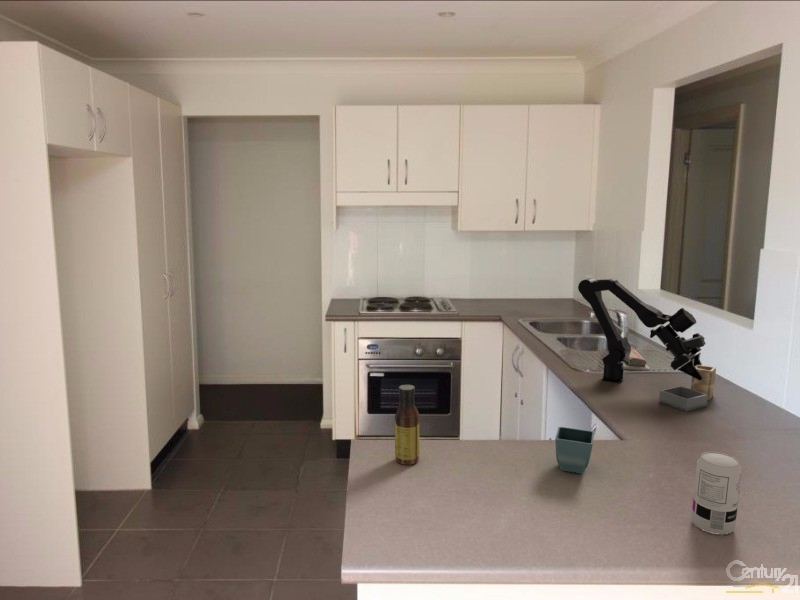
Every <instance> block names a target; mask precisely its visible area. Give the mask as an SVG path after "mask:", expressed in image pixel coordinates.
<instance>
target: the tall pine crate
mask: <svg viewBox="0 0 800 600" xmlns="http://www.w3.org/2000/svg"><path fill="white" fill-rule="evenodd" d="M695 367H696V369H697V370H698V372H699V374H700V375H701V377H702V379H701V380H698V379H696V378H694V377H692V376H691V382H690V383H691V384H690V389H692V390H695V391H698V392H701V393H704V394H707V395H708V400H707V401H710V400H711V399H712V398H713V397H714V393H715V392H714V391H715V381H716V380H715V379H716V375H717V374H716V373H717V367H715V366H709V365H703V364H702V365H698V364H697V365H696V366H695Z"/></svg>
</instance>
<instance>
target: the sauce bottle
mask: <svg viewBox="0 0 800 600" xmlns="http://www.w3.org/2000/svg"><path fill="white" fill-rule="evenodd" d="M415 393H416V387H415V385H412V384H401V385H399V386H398V395H399V401H398V407H397V409H396V412H395V415H394V455H395V456H394V457H395V461H396V462H397V463H398V464H399V465H405V466H411V465H415V464H417V463H418V462H419V460H420V454H421V453H420V413H419V410H418V408H417V406H416V405H415Z"/></svg>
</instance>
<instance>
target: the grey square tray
mask: <svg viewBox="0 0 800 600" xmlns="http://www.w3.org/2000/svg"><path fill="white" fill-rule="evenodd" d="M708 401H709V400H708V395H707V394H704V393H701V392H698V391H695V390H692V389H691V388H688V387H685V386H683V385H679V386H674V387H669V388H664V389H660V390H659V398H658V402H659V403H661V404H663V405H667V406H670V407H672V408H675V409H678V410H681V411H683V412H690V411H694V410H698V409H702V408H703V409H704V408H706V407H708Z"/></svg>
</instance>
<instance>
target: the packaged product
mask: <svg viewBox="0 0 800 600" xmlns="http://www.w3.org/2000/svg"><path fill="white" fill-rule="evenodd" d="M630 349H631V353H630V355H629V356H628V357H627V358H626V359H625V360H624V362H622V363H623V367H624V368H625V370H632V371H633V370H634V371H635V370H636V371H651V367H650V366H648V365H647V360H646V359H645V358H644V357H643V356H642V355H641V354H640V353H639V352H638V351H637V350H636V349H634V348H630Z"/></svg>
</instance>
